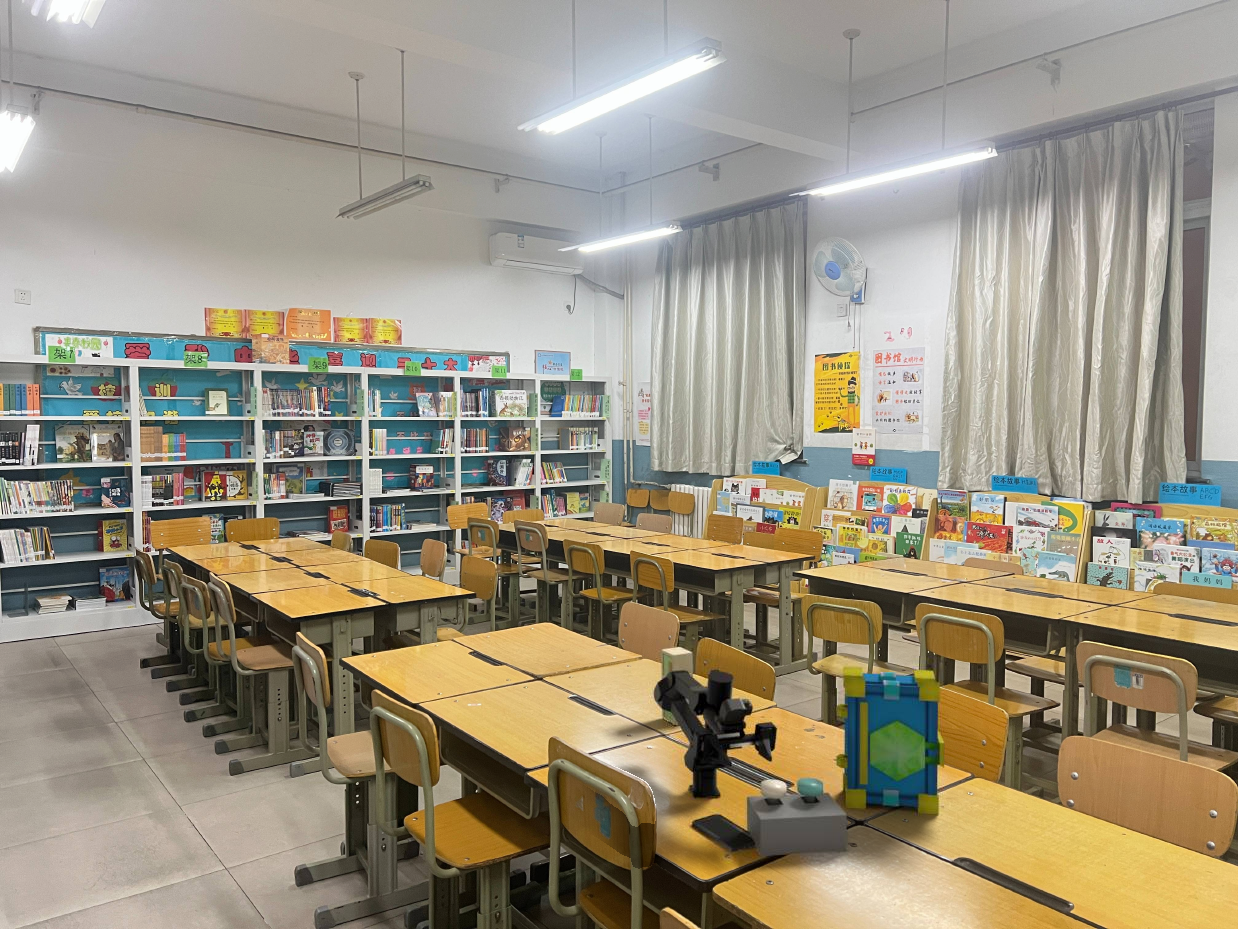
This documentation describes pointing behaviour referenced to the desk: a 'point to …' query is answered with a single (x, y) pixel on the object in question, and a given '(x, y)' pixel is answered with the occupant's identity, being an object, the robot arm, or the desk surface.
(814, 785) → the teal button
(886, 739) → the decorative book
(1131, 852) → the desk surface
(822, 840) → the button box
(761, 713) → the desk surface
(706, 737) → the robot arm
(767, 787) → the cream button
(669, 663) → the toy refrigerator
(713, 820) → the phone
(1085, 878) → the desk surface
